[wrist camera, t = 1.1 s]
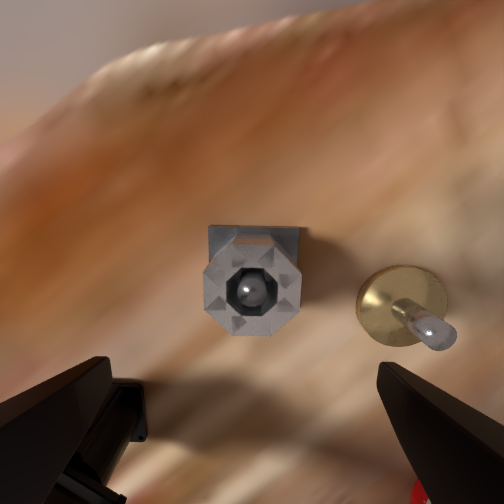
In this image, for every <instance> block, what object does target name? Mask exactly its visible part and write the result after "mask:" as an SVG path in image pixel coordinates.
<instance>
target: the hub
mask: <svg viewBox="0 0 504 504" xmlns="http://www.w3.org/2000/svg"><path fill="white" fill-rule="evenodd" d="M446 311H447V295H446V291H445V289H444V287H443V285H442V284H441V282H440V281H439V280H438V279H437V278H436V277H434V276H433V275H432V274H430V273H428V272H426V271H423V270H421V269H419V268H416V267H413V266H408V265H397V266H391V267H388V268H385V269H382V270H380V271H379V272H377V273H375V274H374V275H373V276H371V277H370V278H369V279H368V280H367V281H366V282H365V283H364V285H363V286H362V288H361V290H360V292H359V294H358V297H357V300H356V314H357V318H358V320H359V322H360V324H361V326H362V327H363V328H364V329H365V330H366V332H367V333H368V334H369V335H370V336H371V337H372V338H373V339H374V340H376V341H377V342H379V343H381V344H384V345H387V346H393V347H403V346H409V345H413V344H416V343H419V342H421V341H422V342H423V343H425V344H426V345H427V346H428V347H429V348H431V349H432V350H435V351H442V350H446V349H448V348H450V347H451V346H452V345H453V344H454V343H455V341H456V338H457V332H456V330H455V328H454V327H453V326H451V325H450V324H448V323H447V322H445V321H444V320H443V319H444V317H445V314H446Z"/></svg>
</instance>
